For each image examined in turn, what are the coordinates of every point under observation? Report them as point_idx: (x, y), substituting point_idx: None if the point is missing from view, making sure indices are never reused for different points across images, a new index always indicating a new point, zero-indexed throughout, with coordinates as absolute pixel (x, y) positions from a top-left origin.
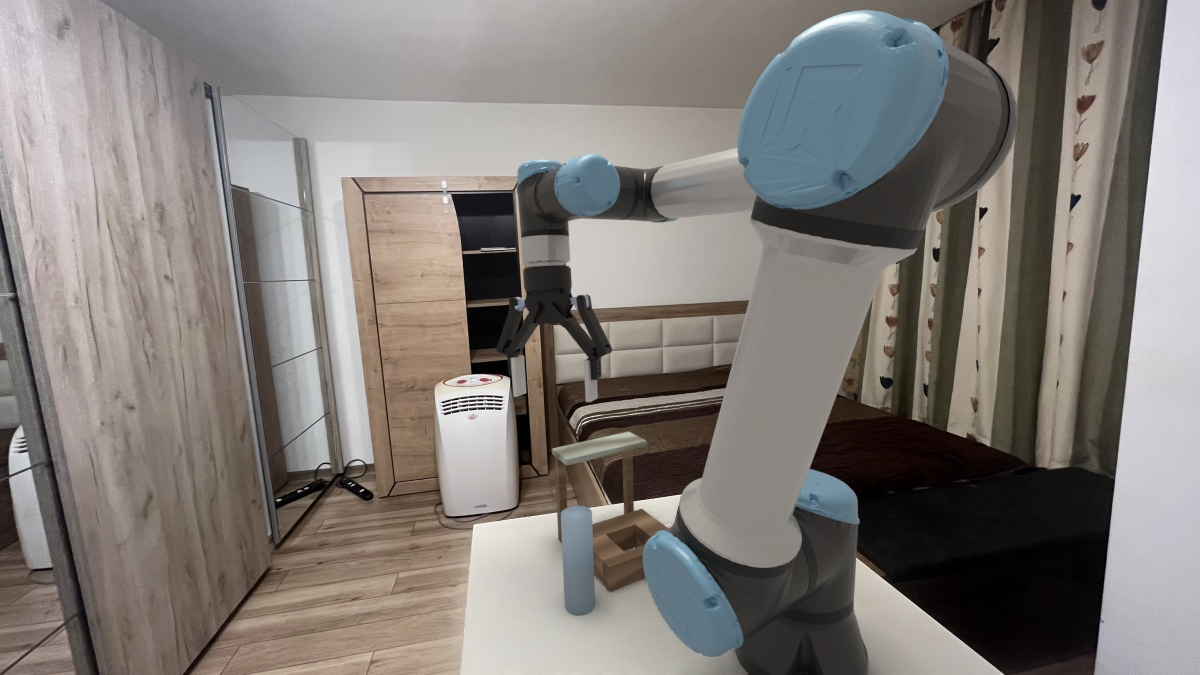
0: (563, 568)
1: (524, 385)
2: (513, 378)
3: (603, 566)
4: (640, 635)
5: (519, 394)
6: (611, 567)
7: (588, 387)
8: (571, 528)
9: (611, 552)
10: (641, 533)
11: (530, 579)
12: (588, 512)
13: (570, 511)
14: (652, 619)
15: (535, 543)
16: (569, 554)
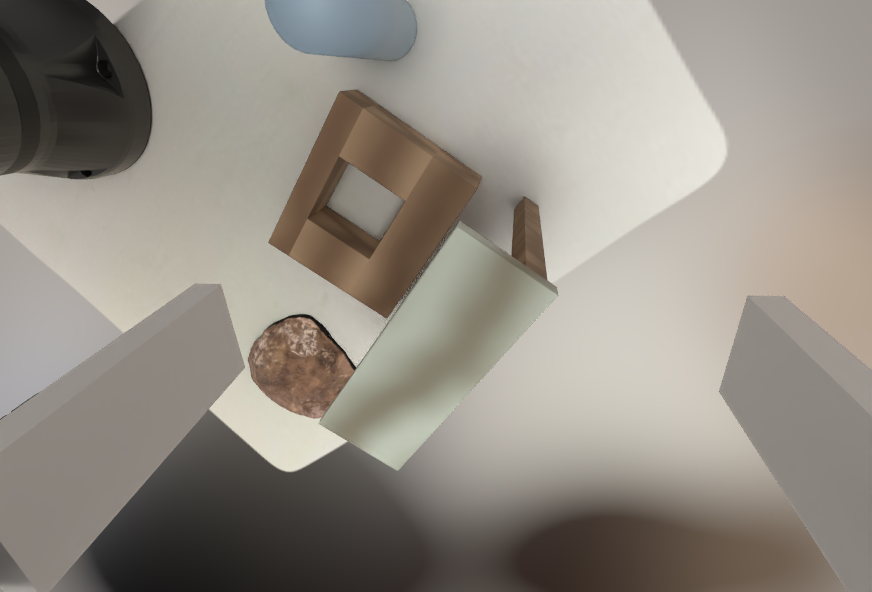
0: None
1: (749, 417)
2: (867, 381)
3: (363, 105)
4: (257, 5)
5: (744, 329)
6: (337, 96)
7: (137, 327)
8: None
9: (361, 143)
10: (354, 244)
11: (522, 48)
12: (283, 25)
13: (330, 2)
14: (260, 55)
15: (580, 171)
16: None
